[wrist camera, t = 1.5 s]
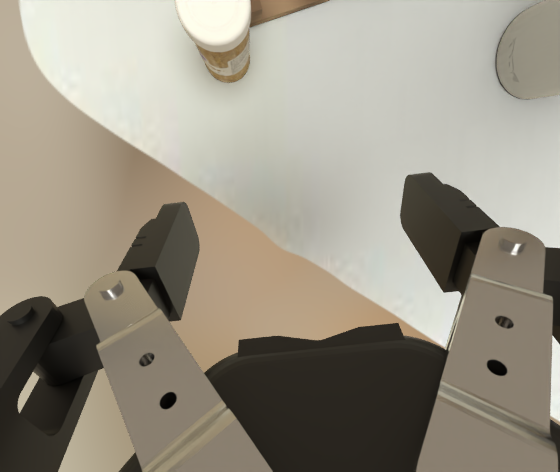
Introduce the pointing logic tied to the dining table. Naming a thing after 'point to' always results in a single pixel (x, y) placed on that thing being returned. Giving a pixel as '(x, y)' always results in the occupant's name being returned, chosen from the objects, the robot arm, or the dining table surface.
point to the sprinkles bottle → (219, 34)
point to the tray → (277, 9)
